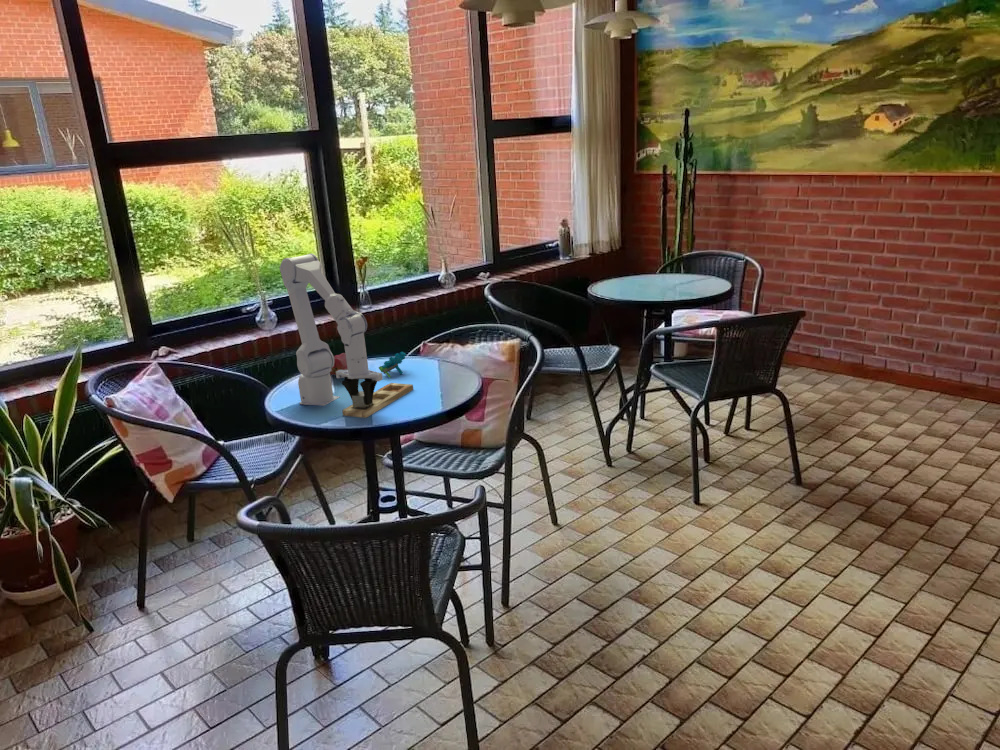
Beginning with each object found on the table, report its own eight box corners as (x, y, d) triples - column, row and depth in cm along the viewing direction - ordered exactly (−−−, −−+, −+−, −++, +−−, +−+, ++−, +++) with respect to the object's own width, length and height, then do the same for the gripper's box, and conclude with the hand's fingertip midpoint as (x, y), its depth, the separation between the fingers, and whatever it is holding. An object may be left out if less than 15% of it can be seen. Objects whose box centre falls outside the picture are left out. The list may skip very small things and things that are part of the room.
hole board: (343, 416, 210) (342, 409, 209) (391, 388, 231) (390, 382, 231) (366, 419, 206) (365, 412, 206) (413, 390, 228) (412, 384, 227)
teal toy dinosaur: (398, 362, 254) (407, 346, 246) (409, 375, 252) (417, 359, 245) (373, 375, 247) (381, 358, 239) (383, 388, 246) (391, 372, 238)
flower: (328, 384, 252) (337, 356, 255) (353, 388, 248) (361, 360, 251) (309, 374, 242) (318, 345, 244) (335, 378, 238) (343, 349, 241)
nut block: (353, 412, 211) (351, 395, 209) (362, 407, 214) (359, 391, 213) (365, 413, 209) (363, 396, 208) (373, 408, 213) (371, 392, 211)
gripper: (326, 359, 207) (333, 405, 211) (369, 362, 201) (375, 409, 205) (342, 352, 213) (348, 397, 217) (384, 355, 207) (389, 401, 211)
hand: (362, 403), depth 211 cm, fingers closed on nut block, 4 cm apart
